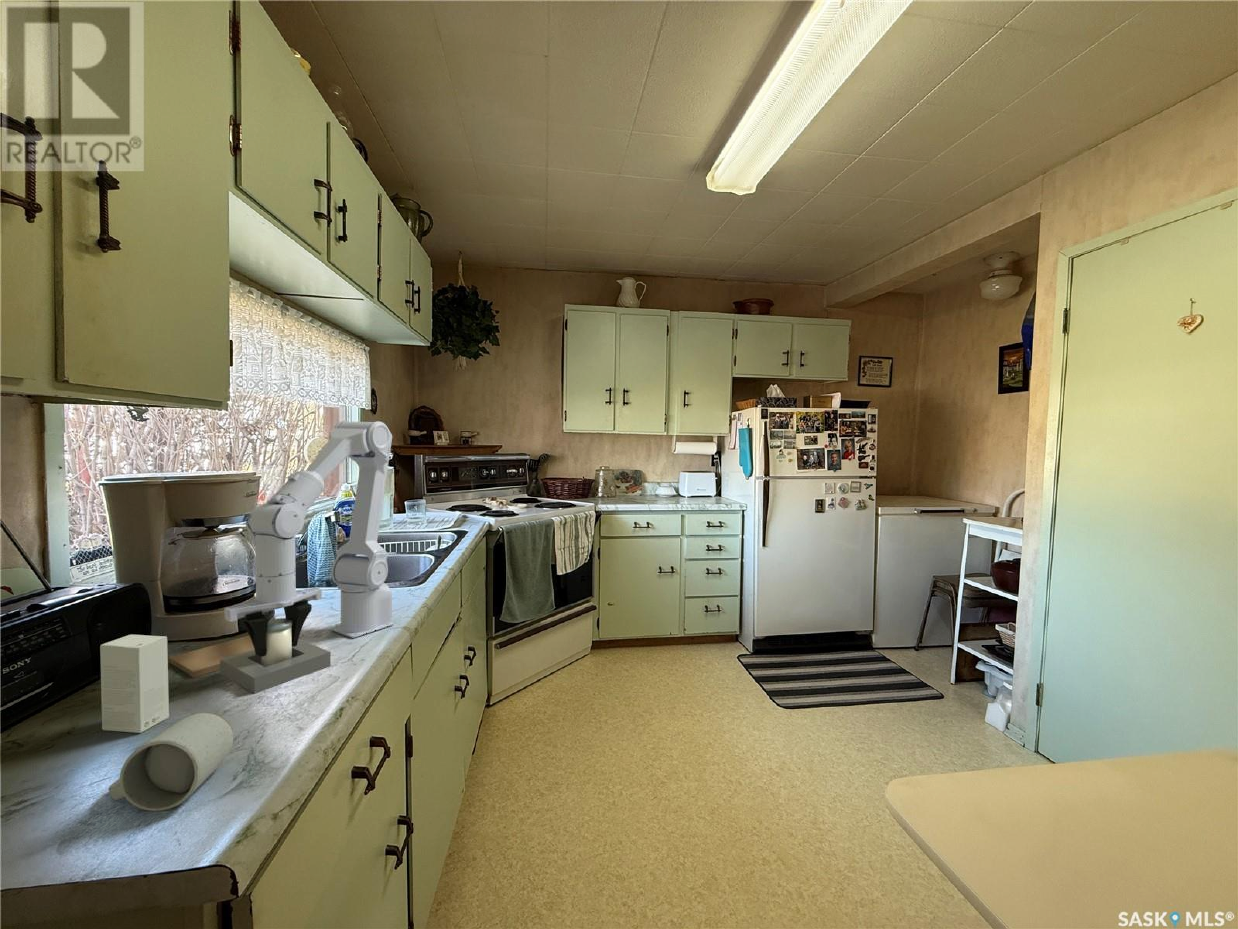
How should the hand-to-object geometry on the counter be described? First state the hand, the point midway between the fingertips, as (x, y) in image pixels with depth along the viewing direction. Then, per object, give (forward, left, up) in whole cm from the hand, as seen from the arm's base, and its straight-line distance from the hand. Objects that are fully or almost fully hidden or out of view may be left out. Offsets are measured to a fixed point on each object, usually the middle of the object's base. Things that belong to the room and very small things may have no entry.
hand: (276, 649), depth 88 cm
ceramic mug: (+22, +22, -4) cm, 31 cm away
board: (+2, -13, -3) cm, 14 cm away
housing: (0, 0, -3) cm, 3 cm away
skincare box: (+19, +2, -4) cm, 19 cm away
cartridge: (0, 0, -3) cm, 3 cm away
